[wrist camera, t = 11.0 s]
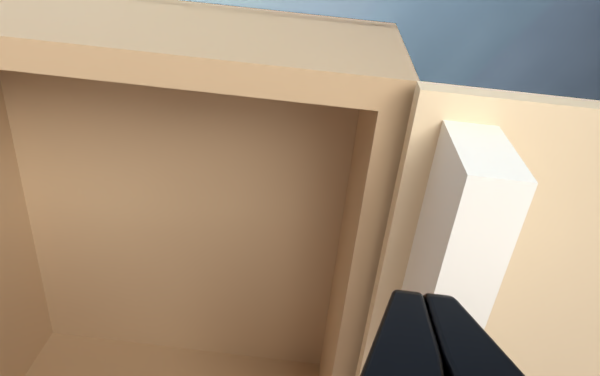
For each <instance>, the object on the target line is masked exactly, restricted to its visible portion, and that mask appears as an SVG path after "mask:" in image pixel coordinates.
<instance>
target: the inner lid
mask: <svg viewBox="0 0 600 376" xmlns="http://www.w3.org/2000/svg"><path fill="white" fill-rule="evenodd" d="M394 290H406V291H415V292H419V293H421V294H422V295H424V294H426V293H433V294H441V295H449V296H452V297H454V298H455V299H457V300H458V302H459V303H460V304H461V305H462V306H463V307H464V308H465V309H466V310H467V312H468V313H469V314H470V315H471V316H472V317H473V318H474V319H475V320H476V322H477V323H478V324H479V325H480V326H481V327H482V328H483V329H484V330H485V331H486V333H487V334H488V335H489V336H490V337H491V338H492V339H493V340H494V341H495V343H496V344H497V345H498V346H499V347H500V348H501V349H502V350H503V351H504V353H505V354H506V355H507V356H508V357H509V358H510V359H511V360H512V361H513V362H514V364H515V365H516V366H517V367H518V368H519V369H520V370H521V371H522V372H523V374H524V375H525V376H600V101H599V100H590V99H581V98H572V97H563V96H553V95H544V94H535V93H526V92H516V91H507V90H498V89H489V88H480V87H470V86H461V85H452V84H443V83H434V82H424V81H417V82H416V87H415V92H414V96H413V101H412V106H411V111H410V116H409V120H408V125H407V130H406V135H405V139H404V144H403V149H402V154H401V159H400V163H399V168H398V173H397V178H396V183H395V187H394V192H393V197H392V202H391V207H390V211H389V216H388V221H387V226H386V231H385V235H384V240H383V245H382V250H381V255H380V259H379V264H378V269H377V274H376V278H375V283H374V288H373V293H372V298H371V302H370V307H369V312H368V317H367V322H366V326H365V331H364V336H363V341H362V346H361V350H360V355H359V360H358V365H357V370H356V374H355V376H360V374H361V372H362V369H363V366H364V364H365V361H366V359H367V356H368V353H369V351H370V348H371V346H372V343H373V340H374V338H375V335H376V333H377V330H378V327H379V325H380V322H381V320H382V317H383V314H384V312H385V309H386V307H387V304H388V301H389V299H390V296H391V294H392V292H393V291H394Z"/></svg>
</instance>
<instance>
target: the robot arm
mask: <svg viewBox="0 0 600 376" xmlns="http://www.w3.org/2000/svg"><path fill="white" fill-rule="evenodd" d="M360 376H525V375H524V374H523V372H522V371H521V370H520V369H519V368H518V367H517V366H516V365H515V364H514V362H513V361H512V360H511V359H510V358H509V357H508V356H507V355H506V354H505V353H504V351H503V350H502V349H501V348H500V347H499V346H498V345H497V344H496V343H495V341H494V340H493V339H492V338H491V337H490V336H489V335H488V334H487V333H486V331H485V330H484V329H483V328H482V327H481V326H480V325H479V324H478V323H477V322H476V320H475V319H474V318H473V317H472V316H471V315H470V314H469V313H468V312H467V310H466V309H465V308H464V307H463V306H462V305H461V304H460V303H459V302H458V300H457V299H455V298H454V297H452V296H449V295H441V294H433V293H426V294H424V295H422V294H421V293H419V292H415V291H406V290H394V291H393V292H392V294H391V296H390V299H389V301H388V304H387V307H386V309H385V312H384V314H383V317H382V320H381V322H380V325H379V327H378V330H377V333H376V335H375V338H374V340H373V343H372V346H371V348H370V351H369V353H368V356H367V359H366V361H365V364H364V366H363V369H362V372H361V374H360Z"/></svg>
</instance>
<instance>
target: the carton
mask: <svg viewBox="0 0 600 376" xmlns="http://www.w3.org/2000/svg"><path fill="white" fill-rule="evenodd" d="M417 81H420V80H419V78H418V75H417V73H416V71H415V68H414V66H413V64H412V61H411V59H410V56H409V54H408V52H407V49H406V47H405V45H404V42H403V40H402V37H401V35H400V33H399V30H398V28H397V26H396V23H387V22H378V21H369V20H359V19H350V18H341V17H331V16H322V15H312V14H303V13H294V12H284V11H275V10H266V9H256V8H247V7H237V6H228V5H219V4H209V3H200V2H191V1H181V0H0V376H355V374H356V370H357V365H358V360H359V355H360V350H361V346H362V341H363V336H364V331H365V326H366V322H367V317H368V312H369V307H370V302H371V298H372V293H373V288H374V283H375V278H376V274H377V269H378V264H379V259H380V255H381V250H382V245H383V240H384V235H385V231H386V226H387V221H388V216H389V211H390V207H391V202H392V197H393V192H394V187H395V183H396V178H397V173H398V168H399V163H400V159H401V154H402V149H403V144H404V139H405V135H406V130H407V125H408V120H409V116H410V111H411V106H412V101H413V96H414V92H415V87H416V82H417Z"/></svg>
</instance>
